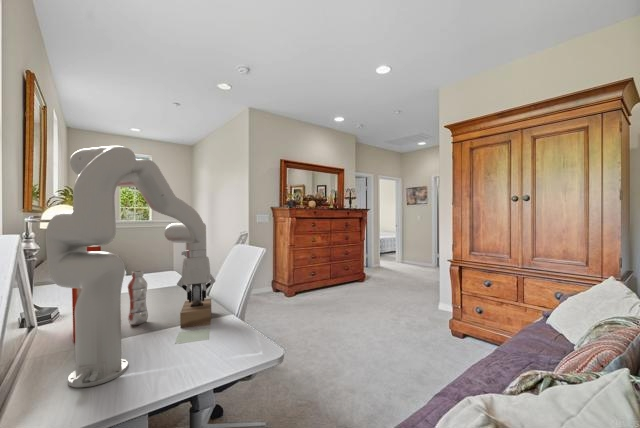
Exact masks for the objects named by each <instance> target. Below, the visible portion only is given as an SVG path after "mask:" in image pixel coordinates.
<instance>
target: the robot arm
mask: <svg viewBox="0 0 640 428" xmlns="http://www.w3.org/2000/svg"><path fill="white" fill-rule="evenodd" d="M69 159H70V160H69V165H70V168H71V169H72V171H73V172H74V173H75V175H77V178H76V180H75V182H74V185H73V189H72V191H73V192H72V200H73V201H72V210H66V211H65V210H64V211H61V212H59V213H57V214H55V215H54V216H53V217H52V218H51V219H50V220H49V222H48V224H47V226H46V231H45V241H46V242H45V247H46V248H45V249H46V262H47V272H48V275H49V278H50V280H51V281H52V283H54V284H55V285H56V286H58V287H61V288H67V289H72V288H80V289H82V291H81V294H80V296H79V298H78V300H77V302H76V306H75V343H74V345H75V346H74V347H75V348H74V350H75V353H74V354H75V370H74V371H72V372H71V373H70V374H69V375H68V377H67V381H66V382H67V385H68V386H69V387H72V388H79V389H80V388H90V387H94V386H98V385H101V384H104V383H108V382H110V381H112V380H114V379H117V378H118V377H120V376H122V374H123V373H125V372H126V371H127V370H128V368H129V361H128V360H127V359H125V358H122V308H121V307H122V306H121V304H122V287H123V282H124V279H125V272H126V267H125V263H124V261H123V259H122V258H121V257H120V256H119V255H117V254H116V253H113V252H109V251H101V252H97V251H89V252H87V247H96V246H101V247H104V246H108V245H109V244H111V243H113V241H114V240H115V238H116V233H117V230H116V229H117V223H116V221H117V220H116V207H115V195H116V190H117V188H118V187H119V188H131V187H133V188H136V189H137V191H138V192H139V193H140V194H141V196H142V197H143V199H144V201H145V202H146V204H147V205H148V207H149V208H150V209H151V210H153V211H154V212H156V213H158V214H161V215H164V216H166V217H169V218H170V217H171V218H173V219H175V220H177V221H179V222H173V223H171V224H168V225H167V226H166V227H165V228H164V236H165V239H166V240H167V241H168V242H169V243H170V242H171V243H174V244H185V250H184V251H181V256H184V257H183V260H182V264H181V265H182V267H181V277H180V279H179V280H178V282H177V283H176V285H177V286H178V287H180V288H182V289H183V290H184V291H185V292H186V299H187V300H186V301H189V303H190V302H191V301H192V284H201V287H202V301H204V299H207V290H208V289H209V288H210V287H211V286H212V285H213V284H215V283H216V279H215V278H214V276H213V275H212V274H211V266H210V265H211V264H210V257H209V256H207V225H206V223H205V222H204V221H203V219H202V218H201V216H200V214H199V213H198V212H197V210H195V209H194V208H193V206H191V205H189V204H188V203H186V202H185V201H184V200H182V199H181V198H180V197H177V195H176V194H175V193H174V191H173V189H172V188H171V186H170V184H169V182H168V181H167V179H166V178H165V175H164V174H163V173H162V171H161V169H160V168H159V166H158V164H157V163H156V162H155V161H153V160H151V159H147V158H139V159H138V158H136V155H135V153H134V151H133V150H132V149H130V148H128V147H125V146H121V145H109V146H99V147H98V146H97V147H89V148H81V149H79V150H77V151H74V153H72V155H71V156H70V158H69Z"/></svg>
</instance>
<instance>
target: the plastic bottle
mask: <svg viewBox="0 0 640 428" xmlns="http://www.w3.org/2000/svg"><path fill="white" fill-rule="evenodd" d="M127 291H128V296H129V311H128V318H127V320H128V324H130V325H131V326H139V325H142V324H145V323H146V322H147V321H148V319H149V312H148V308H147V306H148V305H147V293H148V292H147V291H148V282H147V280H145V278H144V270H135V271H134V270H133V271H131V280H130V281H129V283H128V284H127Z"/></svg>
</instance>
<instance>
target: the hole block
mask: <svg viewBox="0 0 640 428" xmlns="http://www.w3.org/2000/svg"><path fill="white" fill-rule="evenodd" d="M179 317H180V318H179V319H180V322H179V323H180V325H179V327H180V329H184V328H185V329H186V328H194V327H201V326H210V325H211V321H212V320H211V319H212V298H209V297H208V298H204V301H202V306H197V307H192V301H191V302H190V303H189V300H184V303H183V305H182V307H181V310H180V312H179Z"/></svg>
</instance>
